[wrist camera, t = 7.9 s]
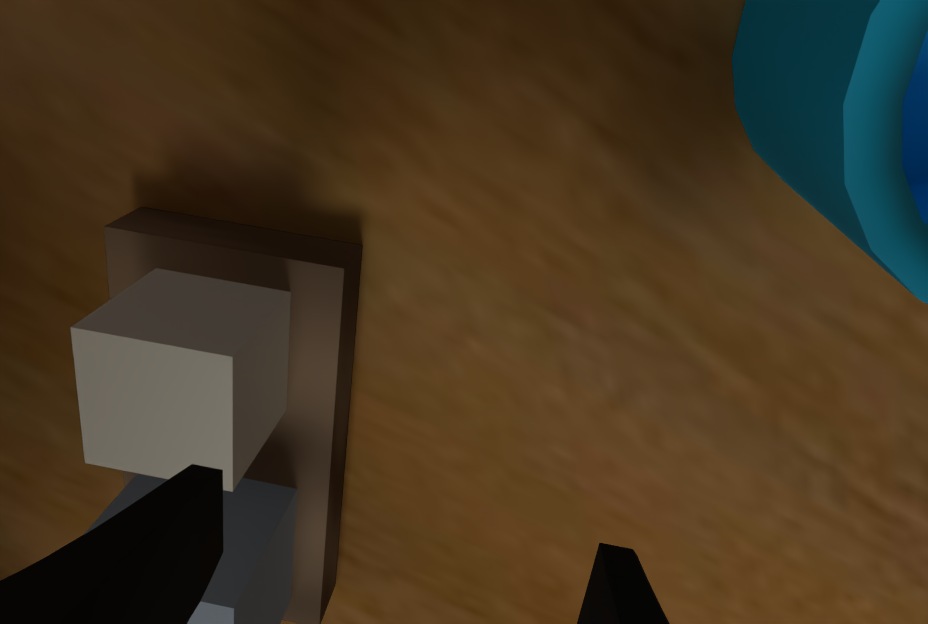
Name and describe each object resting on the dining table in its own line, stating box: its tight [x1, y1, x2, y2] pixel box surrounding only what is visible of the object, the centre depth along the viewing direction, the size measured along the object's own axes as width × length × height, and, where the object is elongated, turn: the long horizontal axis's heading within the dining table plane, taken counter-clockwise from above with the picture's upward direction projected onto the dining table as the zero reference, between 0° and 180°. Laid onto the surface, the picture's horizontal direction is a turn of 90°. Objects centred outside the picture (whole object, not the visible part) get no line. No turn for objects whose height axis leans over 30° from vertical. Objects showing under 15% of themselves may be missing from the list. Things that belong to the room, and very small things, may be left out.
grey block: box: [70, 268, 291, 492], centre depth 20 cm, size 4×4×4 cm
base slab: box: [104, 207, 362, 624], centre depth 24 cm, size 14×7×2 cm, turn 172°
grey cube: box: [85, 473, 297, 624], centre depth 22 cm, size 5×5×5 cm
